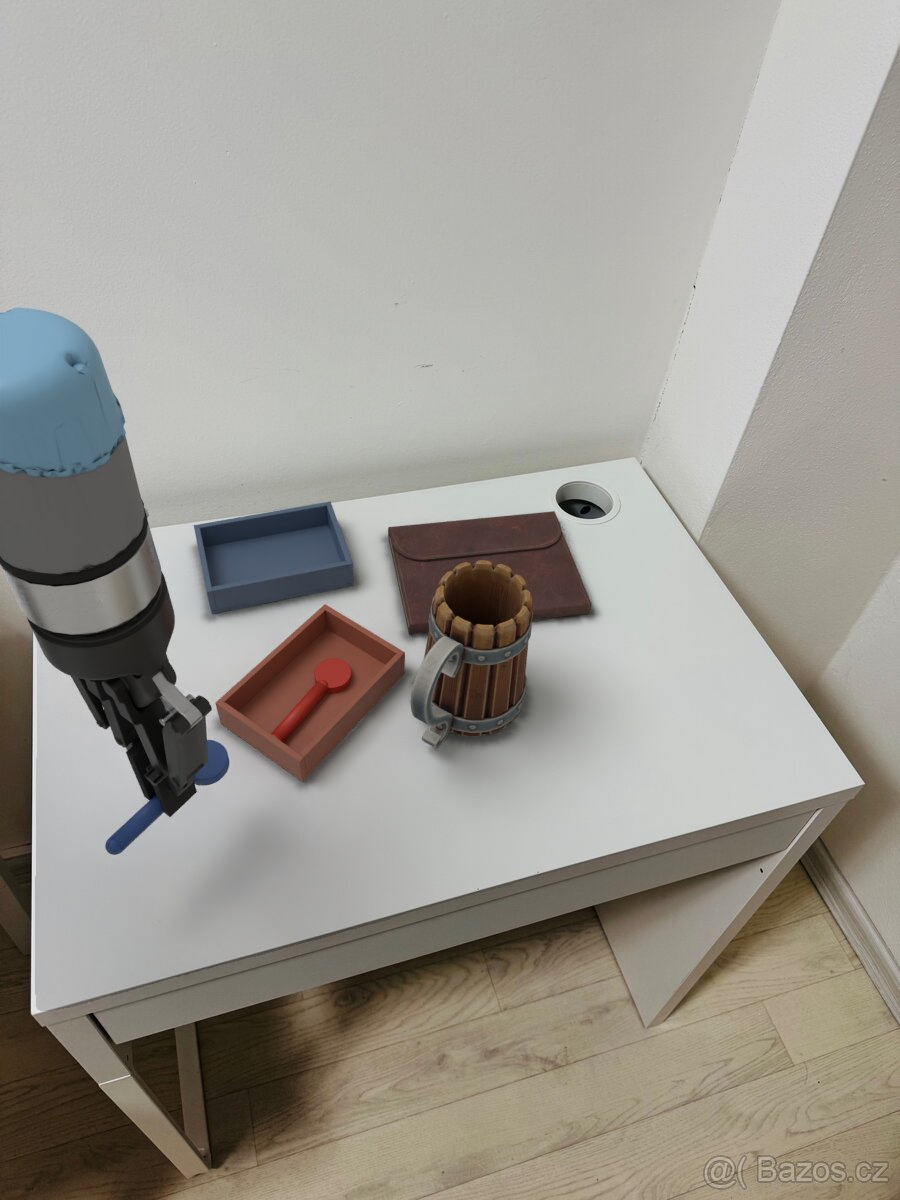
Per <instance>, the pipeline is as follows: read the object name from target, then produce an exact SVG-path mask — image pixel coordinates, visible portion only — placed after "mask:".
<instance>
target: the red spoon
mask: <svg viewBox="0 0 900 1200" xmlns="http://www.w3.org/2000/svg"><path fill="white" fill-rule="evenodd" d="M314 678H315V684H314V686H313V687H312V688H311V689H310V690H309V691H308V692H307V693H306V695H305V696H304V697H303V698H302V699H301V700H300V701H299V702H298V704H297V705H296V706H295V707H294V708H293V709H292V710H291V712H290V713H289V714H288V715H287V716H286V717H285V718H284V719H283V721H282V722H281V723H280V724H279V725H278V726H277V727H276V728H275V730H274V731H273V732H272V733H271V735H273V736H274V737H276V738H277V739H278V740H280V741H281V742H284V741H285V740H286V739H287V738H288V737H289V736H290V734H291V733H292V732H293V731H294V730H295V729H296V727H297V726H298V725H299V724H300V723H301V722H302V720H303V719H304V718H305V717H306V716H307V715H308V714H309V712H310V711H311V710H312V709H313V708H314V707H315V705H316V704H317V703H318V702H319V701H320V700H321V699H322V697H323V696H324V695H325V694H326V693H338V692H341V691H343V690H345V689H346V688H347V687H348V686H349V685H350V683H351V679H352V675H351V668H350V666H349V665H348V664H347V663H346V662H345V661H343V660H341V659H337V658H330V659H326V660H324V661H322V662H320V663H319V664H318V665H317V667H316V668H315V671H314Z"/></svg>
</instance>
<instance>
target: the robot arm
mask: <svg viewBox="0 0 900 1200" xmlns="http://www.w3.org/2000/svg"><path fill="white" fill-rule="evenodd" d="M100 353H101V352H100V350H99V349H98V347H97V345H96V343H95V342H94V340H93V339H92V338H91V337H90V335H89V334H88V333H87V332H86V331H85V330H84V329H83V328H82V327H80V326H79V325H78V324H76V323H75V322H73V321H72V320H70V319H68V318H67V317H64V316H62V315H59V314H57V313H54V312H50V311H47V310H44V309H43V310H42V309H36V308H29V307H13V308H11V309H9V310H7V311H4V312H0V569H1V570H2V573H3V575H4V577H5V579H6V581H7V584H8V585H9V588H10V590H11V592H12V594H13V596H14V598H15V600H16V602H17V605H18V607H19V609H20V610H21V611H22V613H23V614H24V615H25V617H26V619H27V622H28V623H29V626H30V629H31V630H32V633H33V635H34V636H35V639H36V641H37V644H38V645H39V647H40V649H41V651H42V653H43V655H44V657H45V658H46V660H47V661H48V662H49V663H50V665H52V667H54V668H55V669H57V670H58V671H59V672H61V673H63V674H65V675H67V676H70V677H71V680H72V682H73V683H74V685H75V686H76V688H77V690H78V692H79V694H80V696H81V698H82V699H83V701H84V703H85V705H86V706H87V708H88V710H89V711H90V713H91V715H92V717H93V718H94V720H95V723H96V725H97V726H98V727H99V728H102V729H103V730H108V729H109V728H110V729H111V733H112V735H113V739H114V740H115V742H116V744H117V745H118V746H121V747H123V748H124V749H126V751H125V754H126V756H127V759H128V761H129V764H130V766H131V768H132V772H133V773H134V775H135V778H136V780H137V783H138V785H139V788H140V791H141V793H142V795H143V797H144V798H145V799H147V800H148V801H149V800H151V799H152V798H153V797H154V796H155V795H157V797H158V800H159V803H160V805H161V808H162V810H163V812H164V813H163V814H165V815H166V816H168V817H169V818H171V817H172V816H173V815H175V814H176V813H177V812H178V811H179V810H180V809H181V808H182V807H183V806H184V805H185V804H186V803H187V802H188V801H189V800H190V799H192V798H193V796H195V794H197V793H198V790H197V787H196V784H194V781H193V778H192V777H193V776H194V775H195V774H197V773H198V772H199V771H200V770H201V769H202V768H203V767H204V766H205V765H206V764H207V763H208V750H207V740H208V736H207V719H206V717H207V716H208V715H209V713H210V712H211V711H213V708H212V705H211V703H210V701H209V700H208V699H207V698H205V697H204V696H203V695H200V694H199V695H197V696H195V697H194V695H192V694H189V693H187V695H186V696H185V695H184V694H183V693H182V692H181V690H180V689H178V687H177V686H175V685H176V684H177V674H176V670H175V669H174V667H173V665H172V664H171V662H170V660H169V658H168V655H167V651H168V647H169V645H170V643H171V639H172V636H173V633H174V630H175V624H176V615H175V614H176V613H175V609H174V605H173V602H172V599H171V596H170V592H169V588H168V584H167V581H166V577H165V575H164V572H163V571H162V566H161V563H160V559H159V555H158V551H157V548H156V545H155V541H154V538H153V534H152V531H151V527H150V523H149V521H148V519H149V517H150V514H149V510H148V509H147V508H146V507H145V502H144V500H143V499H142V496H141V492H140V488H139V484H138V480H137V476H136V472H135V468H134V464H133V460H132V456H131V453H130V448H129V444H128V440H127V436H126V434H127V431H126V430H125V426H124V425H125V423H126V419H125V415H124V413H123V409H122V405H121V403H120V400H119V399H118V397H117V395H116V394H115V392H114V391H113V388H112V385H111V383H110V379H109V377H108V373H107V371H106V368H105V365H104V362H103V359H102V356H101V354H100Z"/></svg>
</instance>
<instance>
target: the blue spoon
mask: <svg viewBox="0 0 900 1200" xmlns="http://www.w3.org/2000/svg"><path fill="white" fill-rule="evenodd" d="M207 750H208V763H207V764H206V765H205V766H204V767H203V768H202V769H201V770H200V771H199V772H198V773H197V774H195V775H194V776H193V777H192V778H193V781H194V784H195V786H196V785H197V786H203V787H205V786H210V785H213V784H215V783H218V782H219V781H221V780H222V779H223V778H224V777H225V775H226V774H227V773H228V770H229V769H230V757H229V754H228V750H227V748H226V747H225V746H224V745H223V744H222V743H221V742H219V741H217V740H214V739H207ZM163 814H165V813H164V812H163V810H162V808H161V805H160V803H159V800H158V797H157V795H155V796H154V797H153V798H152V799H151V800H148V801H147V802H146V803H145V804H144V805H143V806H141V808H140V809H138V810H137V811H136V812H135V813H134V814H133V815H132V816H131V817H129V819H128V820H126V822H124V823H123V824H122V825H121V826H120V827H119V828H118V829H117V830H115V832H114V833H112V834H111V835H110V836H109V837H108V839H107V840H106V841H105V843H104V844H105V845H104V847H105V851H106V852H107V853H108V854H109V855H113V856H117V855H120V854H121V853H123V852H124V851H125V850H126V849H127V848H128V847H129V846H130V845H131V844H132V843H134V842H135V840H136V839H138V837H140V836H141V835H142V834H143V833H144V832H145V831H146V830H147V829H148V828H149V827H150V826H151V825H152V824H153V823H155V821H157V820H158V819H159V818H160V817H161V816H162V815H163Z"/></svg>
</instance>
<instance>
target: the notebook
mask: <svg viewBox="0 0 900 1200" xmlns="http://www.w3.org/2000/svg"><path fill="white" fill-rule="evenodd" d="M387 536H388V537H387V538H388V545H389V548H390V553H391V557H392V562H393V566H394V572H395V576H396V581H397V585H398V590H399V594H400V600H401V604H402V609H403V613H404V619H405V623H406V626H407V627H406V628H407V632H408V635H417V634H426V633H429V616H430V611H431V606H432V601H433V598H434V596H435V593H436V589H437V588H438V585H439V582H440V581H441V579H442V577H443V576H444V575H445V574H446V573H447V572H449V571H452V572H453V569H454V568H455V567H456V566H457V565H459V564H462V563H465V562H467V563H470V564H471V565H472V566H473V565H474V564H475V563H476V562H477V561H479V560H485V561H489V562H491V563H492V564H493V566H494V567H496V566H497V565H498V564H503V565H505V566H507V567H509V568H510V569H511V570H512V571H513V573H514V576H515V575H516V574H517V575H520V576H521V577H522V578H523V579H524V581H525V582H526V584H527V587H528V591H529V592H530V594H531V598H532V612H533V617H532V621H535V620H543V619H551V618H560V617H561V618H562V617H569V616H577V615H586V614H590V613H591V612H592V601H591V599H590V597H589V594H588V592H587V589H586V587H585V584H584V582H583V579H582V577H581V574H580V572H579V569H578V568H577V565H576V562H575V560H574V557H573V555H572V552H571V550H570V548H569V545H568V542H567V540H566V537H565V536H564V533H563V531H562V526H561V523H560V520H559V518H558V516H557V513H556V511H555V510H553V511H543V512H542V511H541V512H532V513H531V512H530V513H522V514H521V513H520V514H511V515H499V516H490V517H489V516H488V517H480V518H470V519H469V518H467V519H459V520H448V521H439V522H429V523H427V522H426V523H418V524H417V523H416V524H407V525H395V526H388V528H387Z"/></svg>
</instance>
